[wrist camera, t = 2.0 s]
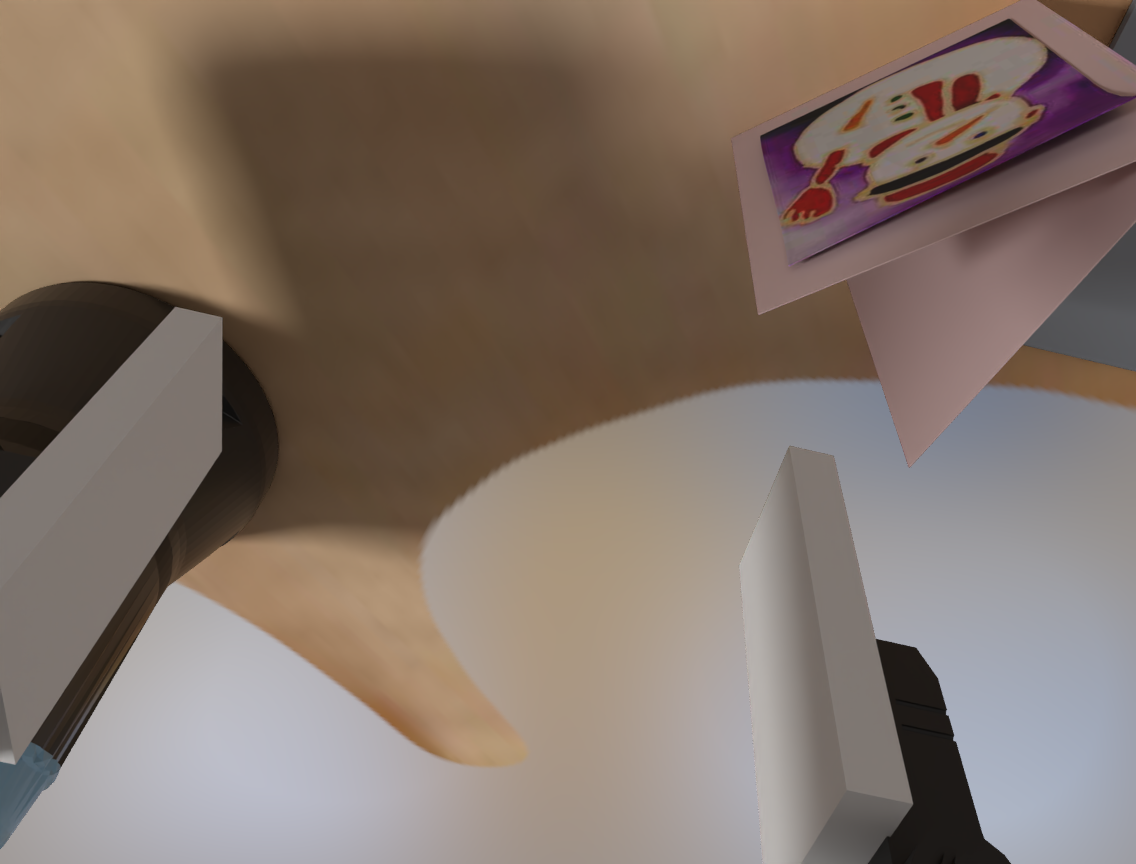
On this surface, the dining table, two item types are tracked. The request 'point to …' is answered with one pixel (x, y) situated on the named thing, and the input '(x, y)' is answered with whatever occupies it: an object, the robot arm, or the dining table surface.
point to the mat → (1101, 284)
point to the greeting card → (948, 200)
